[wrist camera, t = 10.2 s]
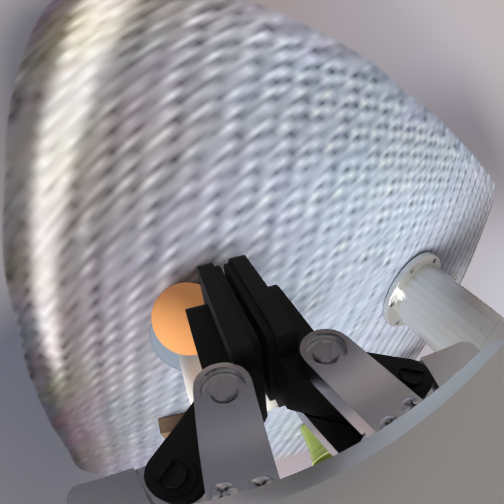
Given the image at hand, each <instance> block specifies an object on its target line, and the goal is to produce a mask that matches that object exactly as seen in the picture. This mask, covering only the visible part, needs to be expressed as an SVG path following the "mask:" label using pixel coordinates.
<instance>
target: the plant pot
mask: <svg viewBox="0 0 504 504" xmlns="http://www.w3.org/2000/svg"><path fill="white" fill-rule="evenodd" d="M301 431H302V434H303V436H304V439H305V441H306V444H307V446H308V448H309V451H310V453H311V459H312V466H314V465H316V464H318V463H320V462H322V461H324V460H326V459H329V458H331V457H333V456H332V455H331V454H330V453H329V452H328V450H327V449H326V448H325V447H324V446H323V445H322V444H321V442H320V441H319V440H318V439H317V438H316V437H315V436H314V434H313V433H312V432H311V431H310V430H309V429H308V427H307V426H306V425H305V424H303V426H302V427H301Z"/></svg>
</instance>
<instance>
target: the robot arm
mask: <svg viewBox="0 0 504 504" xmlns="http://www.w3.org/2000/svg"><path fill="white" fill-rule="evenodd" d="M197 272H198V277H199V282H200V286H201V291H202V295H203V300H204V304H203V305H199V306H196V307H192V308H188V309H185V311H186V315H187V319H188V322H189V326H190V330H191V333H192V337H193V341H194V344H195V347H196V351H197V354H198V358H199V361H200V364H201V368H202V371H201V372H200V373H199V374H198V375H197V376H196V378H195V380H194V382H193V398H194V402H193V403H192V404H191V406H190V407H189V408H188V410H187V411H186V412H185V414H184V415H183V416H182V418H181V419H180V421H179V422H178V423H177V425H176V426H175V427H174V429H173V430H172V431H171V433H170V434H169V435H168V437H167V438H166V439H165V440H164V442H163V443H162V444H161V446H160V447H159V448H158V450H157V451H156V452H155V453H154V455H153V456H152V457H151V459H150V460H149V461H148V463H147V465H146V466H144V467H142V468H139V469H136V470H135V469H134V468H131V469H128V470H125V471H122V472H119V473H116V474H113V475H110V476H106V477H103V478H100V479H96V480H93V481H89V482H85V483H81V484H78V485H76V486H74V487H72V488H71V489H70V490H69V492H68V493H67V497H66V503H67V504H504V318H503V317H502V316H501V315H500V314H498V313H497V312H496V311H494V310H493V309H492V308H491V307H489V306H488V305H487V304H485V303H484V302H483V301H481V300H480V299H479V298H477V297H476V296H475V295H473V294H472V293H471V292H469V291H468V290H467V289H465V288H464V287H462V286H461V285H460V284H458V283H457V282H455V281H454V280H456V278H457V275H456V273H455V272H452V273H450V274H446V273H445V272H443V271H442V270H441V263H440V260H439V258H438V257H437V256H436V255H434V254H433V253H430V252H425V253H422V254H420V255H418V256H416V257H415V258H413V259H412V260H411V261H410V262H409V263H408V264H407V265H406V266H405V267H404V268H403V269H402V270H401V272H400V273H399V274H398V276H397V277H396V279H395V280H394V282H393V283H392V285H391V287H390V289H389V291H388V294H387V296H386V299H385V303H384V308H383V315H384V318H385V320H386V321H387V322H388V323H389V324H390V325H391V326H394V327H396V326H401V325H404V324H405V325H406V326H407V327H409V328H410V329H411V330H412V331H413V332H414V333H415V334H416V335H417V336H418V337H419V338H420V339H422V340H423V341H424V342H425V343H426V344H427V345H428V346H429V347H430V348H431V349H432V350H433V351H435V352H434V353H432V354H429V355H427V356H424V357H422V358H421V359H420V361H416V360H412V359H405V358H399V357H392V356H386V355H380V354H374V353H369V352H365V351H364V350H363V349H362V348H361V347H359V346H358V345H357V344H356V343H355V342H353V341H352V340H351V339H350V338H349V337H347V336H346V335H345V334H343V333H341V332H339V331H336V330H332V329H320V330H316V331H313V329H312V328H311V327H310V326H309V324H308V323H307V322H306V321H305V319H304V318H303V317H302V315H301V314H300V313H299V312H298V310H297V309H296V308H295V307H294V305H293V304H292V303H291V301H290V300H289V299H288V298H287V296H286V295H285V294H284V293H283V291H282V290H281V289H280V287H278V286H277V285H272V286H269V287H268V286H267V285H266V284H265V282H264V281H263V280H262V278H261V277H260V275H259V274H258V273H257V271H256V270H255V268H254V267H253V266H252V264H251V263H250V262H249V260H248V259H247V257H246V256H245V255H242V256H238V257H234V258H230V259H229V260H228V263H227V264H224V272H225V275H224V273H223V271H222V269H221V267H220V266H215V267H214V265H213V263H210V264H205V265H201V266H197ZM266 395H267V397H268V399H269V400H270V401H273V400H276V402H277V404H278V406H279V407H282V406H284V405H285V406H286V407H287V409H290V410H293V411H296V413H297V415H298V416H299V418H300V419H301V420H302V421H303V423H304V424H305V425H306V426H307V427H308V429H309V430H310V431H311V432H312V433H313V434H314V436H315V437H316V438H317V439H318V440H319V441H320V442H321V444H322V445H323V446H324V447H325V448H326V449H327V450H328V452H329V453H330V454H331V455H332V456H333V457H331V458H329V459H326V460H324V461H322V462H320V463H318V464H316V465H314V466H311V467H309V468H307V469H304V470H302V471H300V472H298V473H295V474H293V475H290V476H287V477H285V478H282V479H280V478H279V475H278V471H277V468H276V465H275V461H274V458H273V454H272V451H271V447H270V444H269V440H268V437H267V433H266V430H265V426H264V422H265V420H266V418H267V404H266Z"/></svg>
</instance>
